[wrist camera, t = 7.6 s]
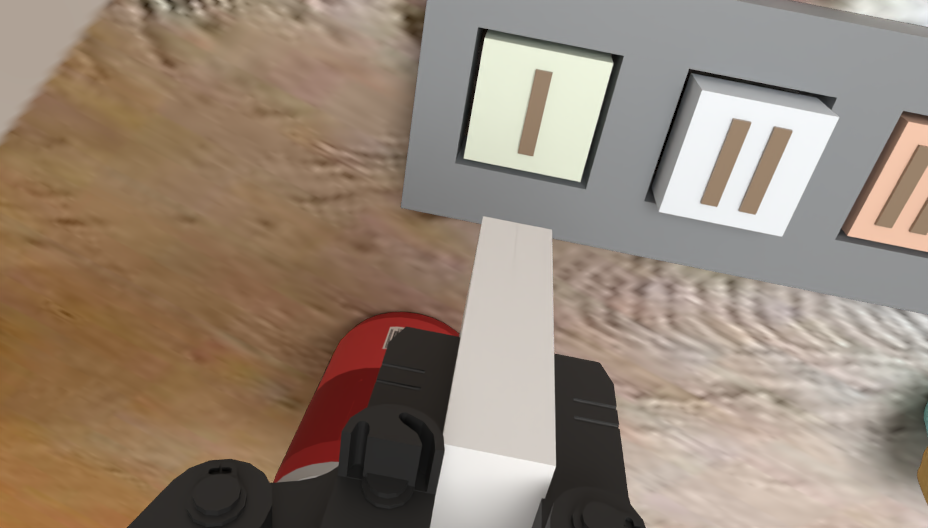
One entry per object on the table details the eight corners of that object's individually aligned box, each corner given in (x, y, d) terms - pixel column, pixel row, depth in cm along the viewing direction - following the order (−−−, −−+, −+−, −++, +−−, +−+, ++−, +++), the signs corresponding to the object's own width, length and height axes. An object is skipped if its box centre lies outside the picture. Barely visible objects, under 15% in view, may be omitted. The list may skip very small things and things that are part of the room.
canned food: (309, 335, 35) (220, 502, 26) (439, 285, 33) (391, 452, 23) (382, 433, 39) (325, 614, 29) (506, 395, 36) (487, 581, 27)
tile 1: (470, 138, 28) (462, 160, 26) (490, 25, 25) (484, 38, 23) (578, 160, 27) (580, 183, 25) (609, 48, 25) (613, 64, 23)
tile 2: (651, 187, 26) (659, 213, 24) (690, 72, 24) (702, 91, 22) (765, 210, 26) (783, 238, 24) (817, 97, 24) (840, 118, 22)
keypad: (415, 177, 30) (400, 207, 27) (447, -66, 25) (434, -59, 22) (942, 283, 29) (982, 325, 27) (1090, 58, 24) (1157, 82, 21)
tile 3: (827, 210, 27) (848, 237, 25) (881, 102, 25) (910, 123, 23) (938, 232, 27) (968, 261, 25) (1003, 126, 25) (1043, 149, 23)
